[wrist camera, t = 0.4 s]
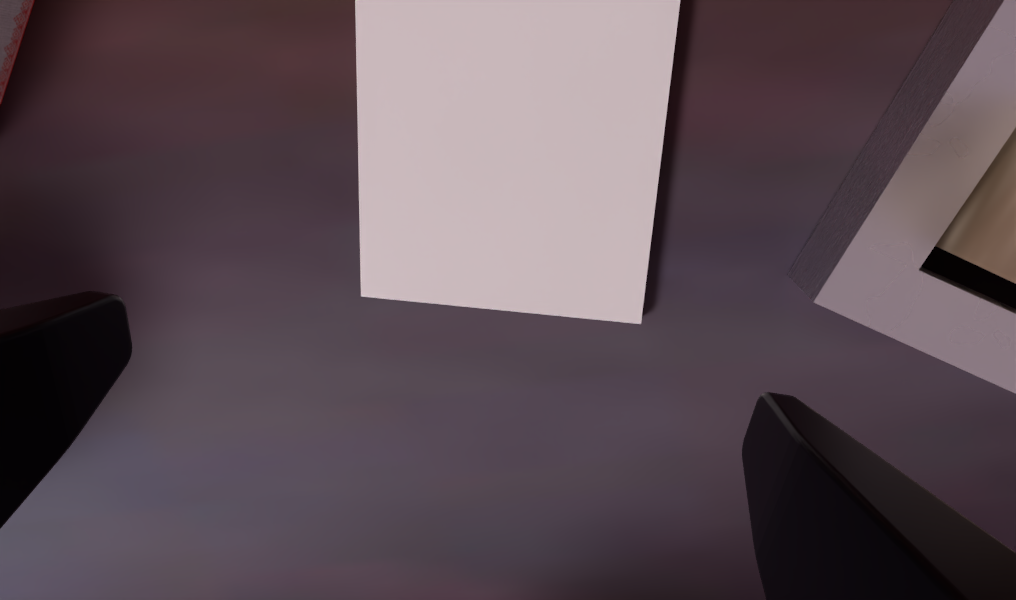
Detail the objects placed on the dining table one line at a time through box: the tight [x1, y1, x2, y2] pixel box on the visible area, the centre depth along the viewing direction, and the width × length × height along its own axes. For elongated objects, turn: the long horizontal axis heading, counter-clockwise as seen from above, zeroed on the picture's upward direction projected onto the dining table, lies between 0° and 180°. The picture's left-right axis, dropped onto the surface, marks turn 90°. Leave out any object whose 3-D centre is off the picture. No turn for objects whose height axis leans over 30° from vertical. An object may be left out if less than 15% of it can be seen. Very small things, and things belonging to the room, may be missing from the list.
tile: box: [355, 0, 680, 324], centre depth 21 cm, size 14×10×1 cm
